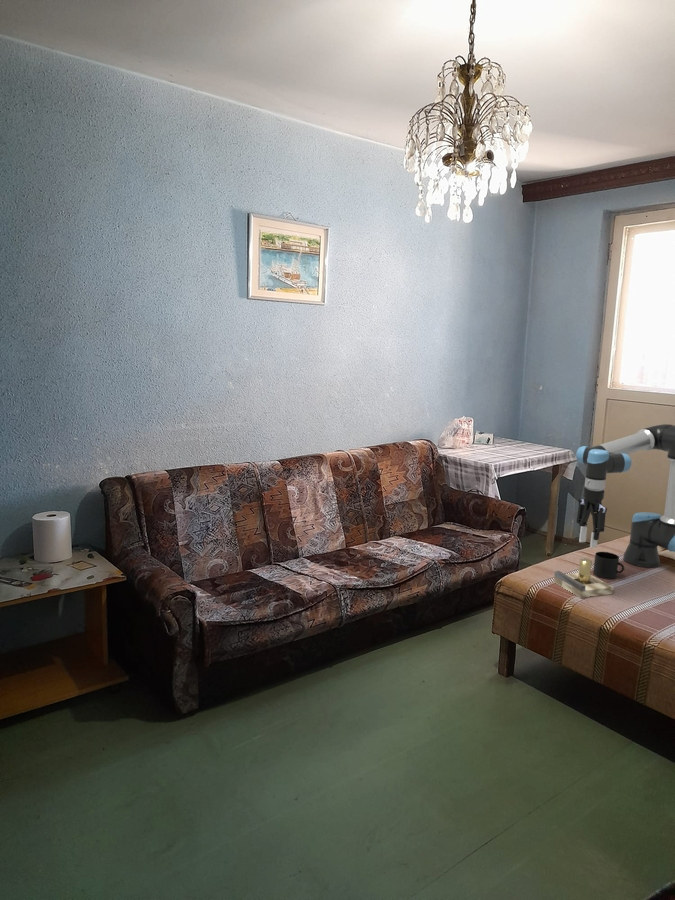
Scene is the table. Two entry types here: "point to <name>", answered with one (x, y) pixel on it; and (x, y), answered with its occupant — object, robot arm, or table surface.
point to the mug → (606, 565)
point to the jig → (579, 589)
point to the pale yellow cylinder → (584, 571)
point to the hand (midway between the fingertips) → (587, 544)
